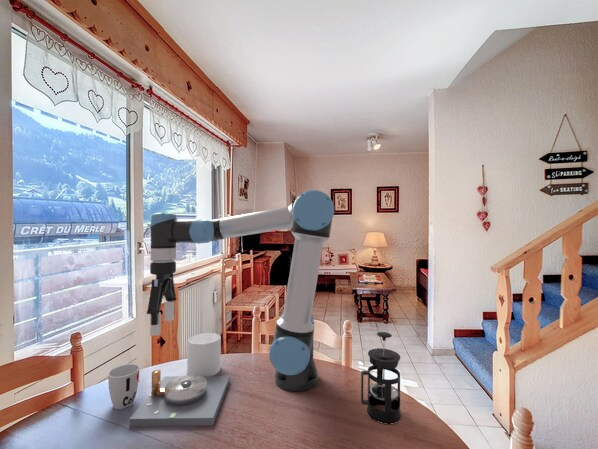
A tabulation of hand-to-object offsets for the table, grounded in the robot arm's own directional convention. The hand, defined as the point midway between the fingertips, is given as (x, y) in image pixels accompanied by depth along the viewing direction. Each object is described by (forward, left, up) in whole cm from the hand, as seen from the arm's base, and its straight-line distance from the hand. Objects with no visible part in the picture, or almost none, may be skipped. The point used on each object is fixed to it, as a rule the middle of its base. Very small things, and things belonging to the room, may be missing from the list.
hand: (162, 327), depth 93 cm
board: (-9, +5, -21) cm, 23 cm away
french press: (-67, +12, -21) cm, 72 cm away
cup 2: (-9, -14, -21) cm, 27 cm away
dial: (-7, +5, -18) cm, 20 cm away
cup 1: (+9, +6, -21) cm, 23 cm away
